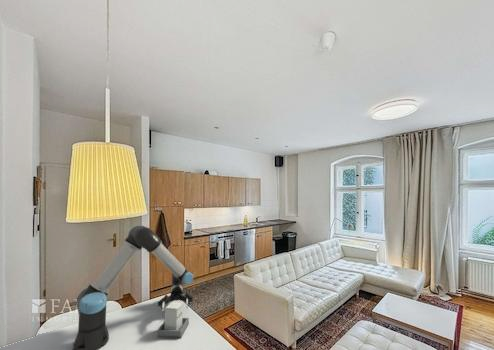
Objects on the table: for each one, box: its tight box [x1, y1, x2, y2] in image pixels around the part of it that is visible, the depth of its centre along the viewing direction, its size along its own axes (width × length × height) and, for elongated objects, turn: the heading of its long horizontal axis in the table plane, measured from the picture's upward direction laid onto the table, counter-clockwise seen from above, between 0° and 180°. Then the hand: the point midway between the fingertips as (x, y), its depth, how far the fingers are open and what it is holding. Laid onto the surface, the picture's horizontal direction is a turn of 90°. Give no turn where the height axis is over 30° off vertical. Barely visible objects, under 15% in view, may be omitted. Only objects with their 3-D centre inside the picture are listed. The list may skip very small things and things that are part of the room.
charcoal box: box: [156, 317, 190, 339], centre depth 125 cm, size 13×13×4 cm
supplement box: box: [164, 301, 184, 330], centre depth 125 cm, size 7×7×13 cm
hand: (175, 307), depth 129 cm, fingers open, 13 cm apart
